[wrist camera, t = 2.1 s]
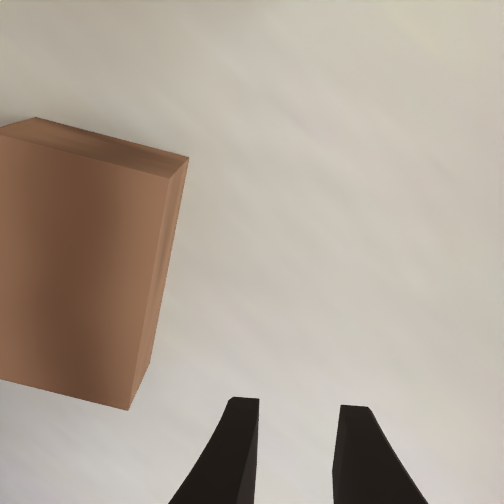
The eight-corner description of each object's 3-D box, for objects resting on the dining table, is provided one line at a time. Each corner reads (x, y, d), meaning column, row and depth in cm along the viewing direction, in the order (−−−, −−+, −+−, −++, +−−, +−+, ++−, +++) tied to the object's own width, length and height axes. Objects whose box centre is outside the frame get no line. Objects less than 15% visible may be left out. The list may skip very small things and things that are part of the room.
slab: (27, 327, 22) (-17, 374, 19) (40, 116, 18) (-14, 131, 15) (151, 359, 23) (127, 410, 19) (190, 155, 19) (169, 178, 15)
